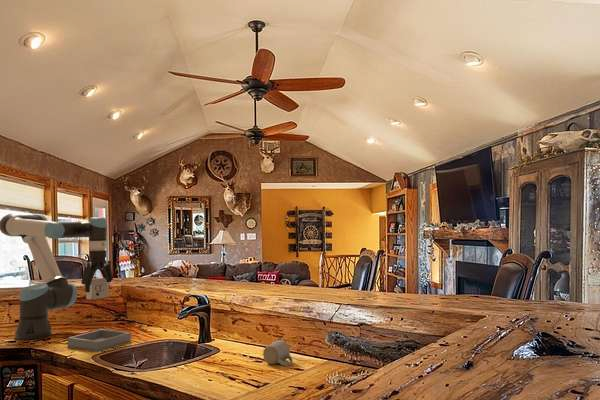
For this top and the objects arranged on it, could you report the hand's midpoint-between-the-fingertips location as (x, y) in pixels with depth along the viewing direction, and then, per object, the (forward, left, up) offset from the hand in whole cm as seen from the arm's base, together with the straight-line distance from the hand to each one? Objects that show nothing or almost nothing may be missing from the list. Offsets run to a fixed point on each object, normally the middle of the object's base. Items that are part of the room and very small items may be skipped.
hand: (97, 297), depth 223 cm
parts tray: (+15, -12, -18) cm, 26 cm away
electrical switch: (0, 0, -1) cm, 1 cm away
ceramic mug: (+99, -3, -18) cm, 100 cm away
